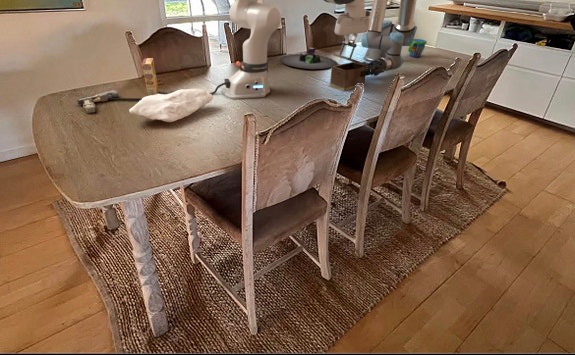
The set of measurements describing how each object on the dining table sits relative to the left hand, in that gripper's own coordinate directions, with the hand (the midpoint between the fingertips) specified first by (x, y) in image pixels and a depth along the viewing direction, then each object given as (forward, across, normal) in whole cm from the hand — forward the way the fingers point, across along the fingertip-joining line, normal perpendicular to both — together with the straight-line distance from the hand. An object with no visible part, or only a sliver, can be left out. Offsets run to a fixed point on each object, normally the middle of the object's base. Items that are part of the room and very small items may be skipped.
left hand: (349, 43), depth 176 cm
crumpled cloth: (+23, -87, +14) cm, 91 cm away
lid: (+8, +2, 0) cm, 9 cm away
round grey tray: (+21, +14, +44) cm, 51 cm away
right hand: (+14, +6, 0) cm, 16 cm away
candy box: (+23, -84, +40) cm, 96 cm away
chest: (+21, +2, 0) cm, 21 cm away
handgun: (+23, -107, +41) cm, 117 cm away
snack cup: (+20, +87, +17) cm, 91 cm away
